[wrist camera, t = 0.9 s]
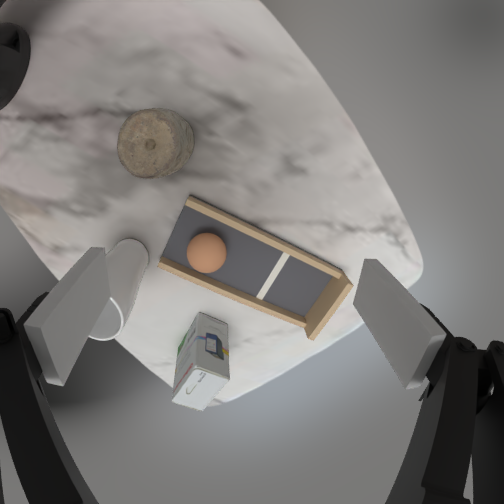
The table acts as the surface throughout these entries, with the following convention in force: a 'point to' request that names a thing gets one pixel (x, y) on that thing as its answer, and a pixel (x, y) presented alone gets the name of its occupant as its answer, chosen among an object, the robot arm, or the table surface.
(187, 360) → the ink box
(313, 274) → the lane
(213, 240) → the ball
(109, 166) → the table surface
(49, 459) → the robot arm
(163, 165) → the carving
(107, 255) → the drinking glass
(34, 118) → the table surface
